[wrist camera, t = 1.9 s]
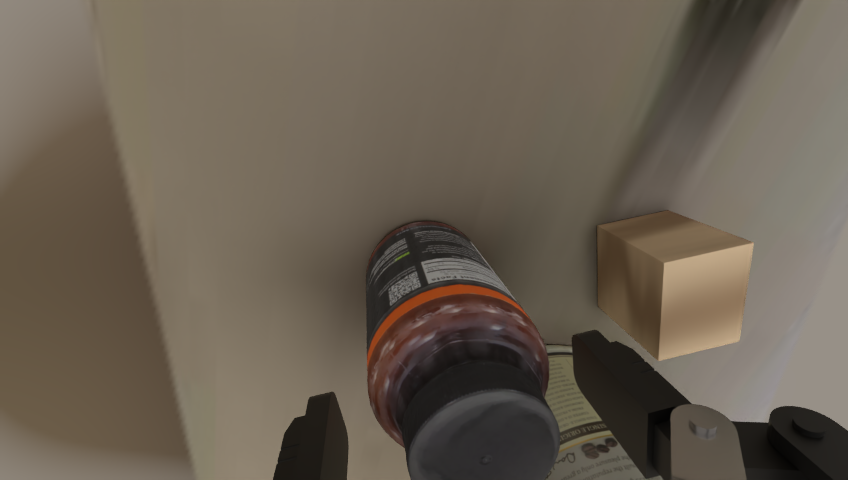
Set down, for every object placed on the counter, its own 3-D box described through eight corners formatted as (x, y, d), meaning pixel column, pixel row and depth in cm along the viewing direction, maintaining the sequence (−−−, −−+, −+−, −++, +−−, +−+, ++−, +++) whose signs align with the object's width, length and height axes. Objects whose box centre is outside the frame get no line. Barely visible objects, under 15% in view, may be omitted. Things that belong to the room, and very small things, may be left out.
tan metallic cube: (597, 225, 21) (664, 262, 16) (667, 210, 21) (754, 242, 16) (598, 306, 22) (658, 360, 18) (662, 291, 23) (739, 341, 18)
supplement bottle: (446, 335, 22) (521, 560, 11) (347, 299, 20) (324, 522, 10) (499, 244, 20) (643, 403, 10) (396, 197, 19) (434, 327, 8)
